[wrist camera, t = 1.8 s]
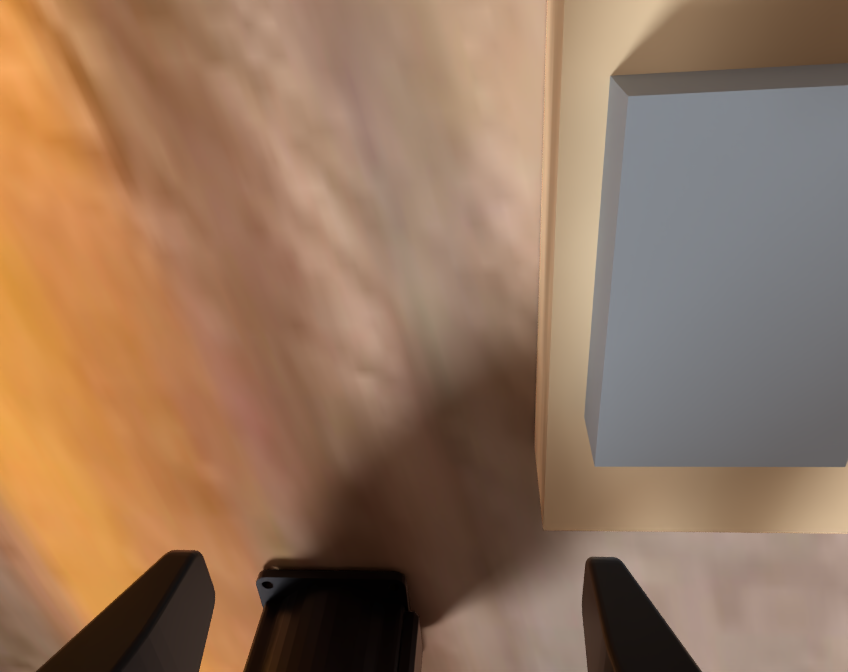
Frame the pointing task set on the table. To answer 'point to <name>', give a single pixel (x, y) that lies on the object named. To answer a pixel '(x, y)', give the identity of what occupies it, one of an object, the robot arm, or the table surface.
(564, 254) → the wooden block
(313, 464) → the table surface
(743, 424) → the grey bevelled block
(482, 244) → the table surface
